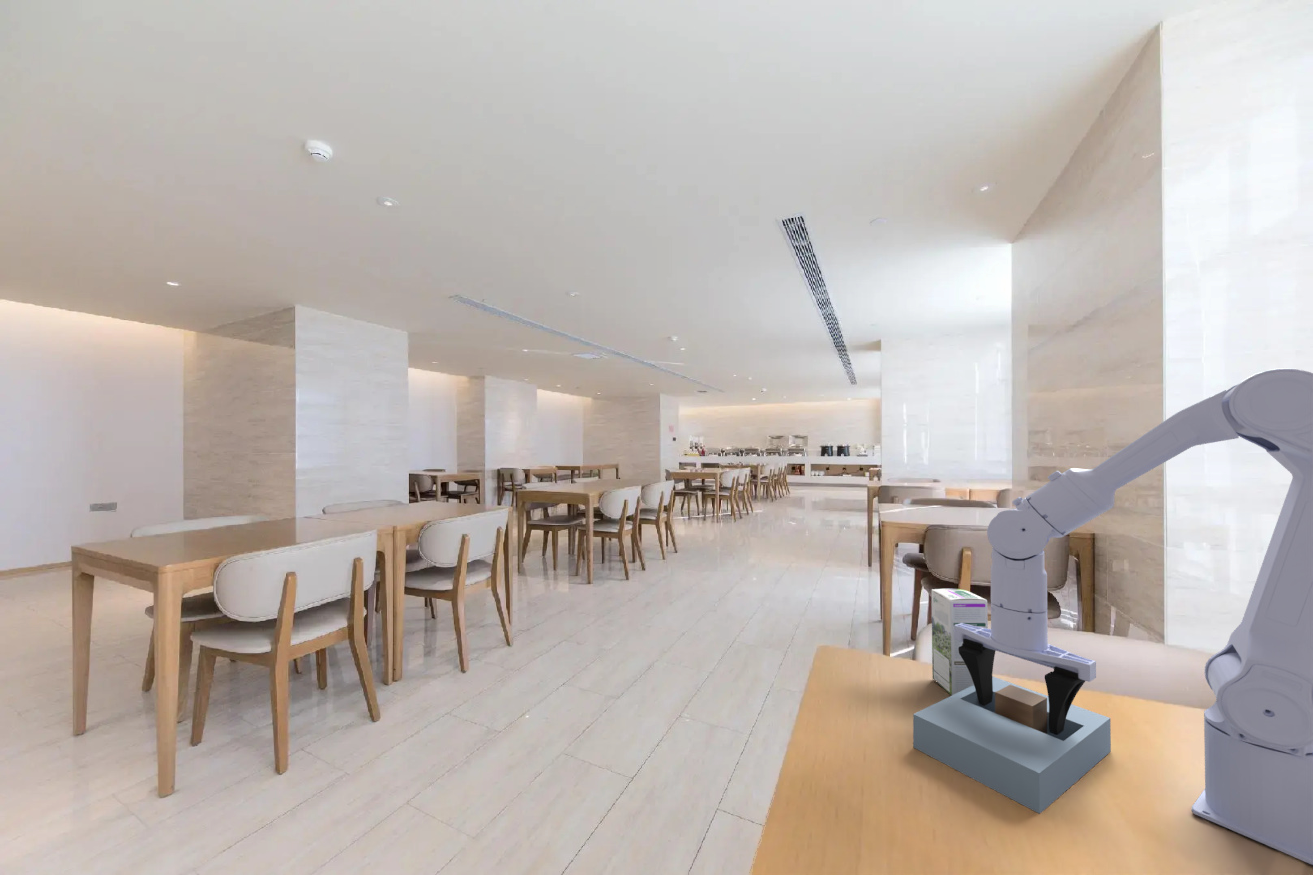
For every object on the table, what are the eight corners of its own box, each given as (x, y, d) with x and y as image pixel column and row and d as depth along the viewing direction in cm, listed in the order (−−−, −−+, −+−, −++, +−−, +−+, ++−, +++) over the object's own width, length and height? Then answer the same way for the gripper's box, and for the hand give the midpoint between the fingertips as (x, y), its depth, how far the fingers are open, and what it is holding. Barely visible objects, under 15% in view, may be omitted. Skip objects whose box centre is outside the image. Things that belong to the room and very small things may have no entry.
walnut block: (1047, 747, 61) (1046, 697, 61) (1032, 757, 59) (1032, 706, 59) (1010, 731, 64) (1010, 684, 65) (995, 740, 62) (995, 692, 62)
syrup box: (991, 698, 73) (990, 598, 73) (950, 697, 73) (950, 598, 74) (967, 680, 79) (967, 588, 79) (930, 679, 79) (929, 587, 79)
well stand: (1110, 751, 60) (1110, 717, 60) (1039, 813, 50) (1039, 773, 50) (992, 704, 71) (992, 676, 71) (913, 747, 61) (913, 713, 61)
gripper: (1105, 617, 58) (1106, 735, 58) (972, 587, 70) (972, 684, 70) (1082, 628, 54) (1083, 754, 54) (945, 594, 66) (945, 697, 66)
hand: (1019, 716), depth 62 cm, fingers open, 7 cm apart
